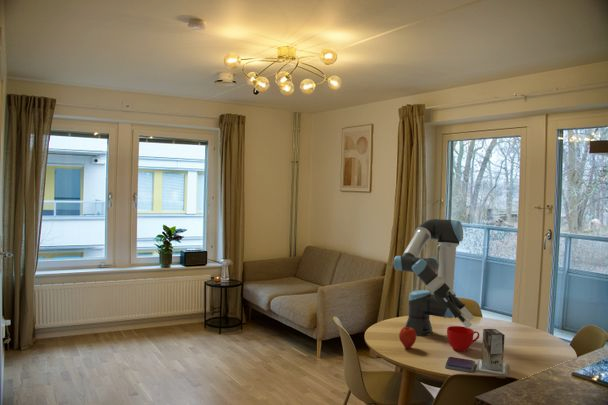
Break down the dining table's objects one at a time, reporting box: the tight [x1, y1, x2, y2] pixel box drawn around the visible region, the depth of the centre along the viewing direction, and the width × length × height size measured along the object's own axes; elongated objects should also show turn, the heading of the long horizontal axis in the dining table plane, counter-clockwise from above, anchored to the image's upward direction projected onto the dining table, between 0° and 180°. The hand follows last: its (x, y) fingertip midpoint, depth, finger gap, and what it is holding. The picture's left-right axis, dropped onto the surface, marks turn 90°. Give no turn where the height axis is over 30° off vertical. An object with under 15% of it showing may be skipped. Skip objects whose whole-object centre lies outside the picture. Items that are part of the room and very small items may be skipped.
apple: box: [398, 326, 417, 349], centre depth 241 cm, size 9×8×11 cm
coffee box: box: [481, 328, 505, 370], centre depth 217 cm, size 9×6×16 cm
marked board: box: [475, 358, 509, 377], centre depth 217 cm, size 13×15×1 cm
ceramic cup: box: [446, 325, 480, 352], centre depth 242 cm, size 13×17×10 cm
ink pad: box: [445, 356, 476, 373], centre depth 219 cm, size 12×12×2 cm
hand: (470, 322), depth 221 cm, fingers open, 13 cm apart
